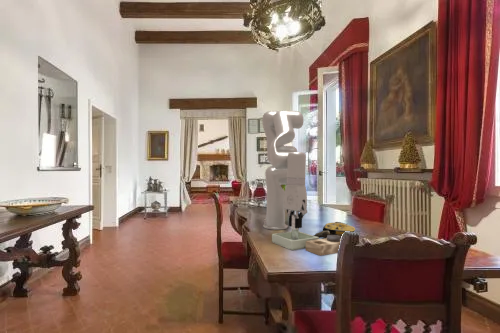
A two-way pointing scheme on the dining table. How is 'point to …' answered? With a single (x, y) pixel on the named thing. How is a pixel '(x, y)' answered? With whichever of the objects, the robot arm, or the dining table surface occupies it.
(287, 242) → the tray
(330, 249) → the tan base block
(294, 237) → the lock pin
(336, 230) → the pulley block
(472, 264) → the dining table surface
